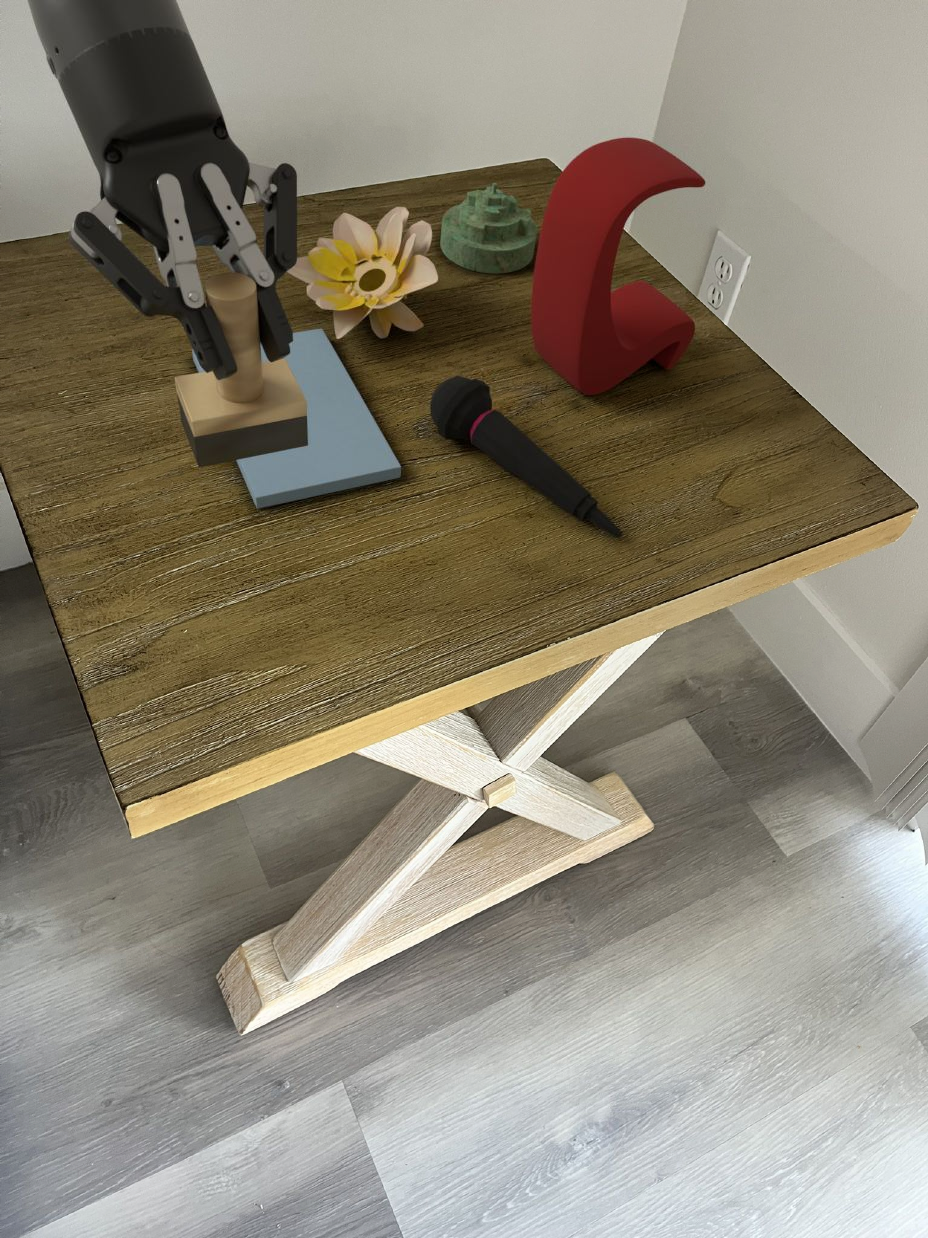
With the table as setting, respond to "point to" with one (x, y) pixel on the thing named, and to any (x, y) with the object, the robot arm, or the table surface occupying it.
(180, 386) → the wooden stamp
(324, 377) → the mat
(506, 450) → the microphone
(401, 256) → the decorative flower
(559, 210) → the red curved piece
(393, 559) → the table surface
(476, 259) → the decorative artifact
